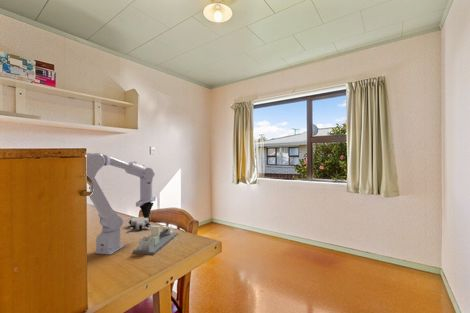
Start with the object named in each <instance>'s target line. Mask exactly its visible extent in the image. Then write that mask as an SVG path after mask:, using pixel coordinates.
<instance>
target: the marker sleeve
mask: <svg viewBox="0 0 470 313" xmlns="http://www.w3.org/2000/svg"><path fill="white" fill-rule="evenodd" d="M160 232H161V226H160V225H151V227H150V235H149V236H147V237H151V238H154V245H156V244H158V243H159V235H160Z"/></svg>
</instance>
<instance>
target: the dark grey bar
mask: <svg viewBox="0 0 470 313" xmlns="http://www.w3.org/2000/svg"><path fill="white" fill-rule="evenodd" d="M160 232H161V233H160V235H159V237H161V236H162V235H164V234H165V233H166V232H168V227H167V228H166V229H165V230H163V229H162V230H161V231H160Z"/></svg>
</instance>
